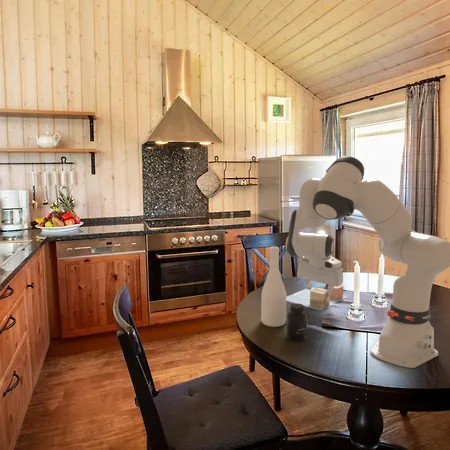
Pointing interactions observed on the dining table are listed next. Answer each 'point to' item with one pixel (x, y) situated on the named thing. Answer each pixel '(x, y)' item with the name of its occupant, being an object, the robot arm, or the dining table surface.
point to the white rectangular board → (304, 299)
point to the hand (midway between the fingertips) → (318, 291)
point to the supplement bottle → (296, 323)
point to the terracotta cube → (336, 292)
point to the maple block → (319, 298)
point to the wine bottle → (273, 294)
